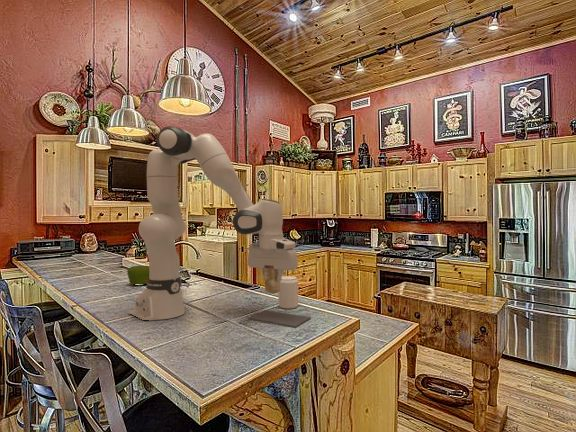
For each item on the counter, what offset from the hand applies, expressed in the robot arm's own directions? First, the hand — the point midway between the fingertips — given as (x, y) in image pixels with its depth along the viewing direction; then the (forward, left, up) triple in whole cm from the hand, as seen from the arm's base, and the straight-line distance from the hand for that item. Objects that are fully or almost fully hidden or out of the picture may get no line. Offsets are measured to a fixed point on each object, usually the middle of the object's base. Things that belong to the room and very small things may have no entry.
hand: (272, 280), depth 124 cm
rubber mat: (+3, 0, -14) cm, 14 cm away
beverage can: (-3, +15, -14) cm, 21 cm away
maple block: (0, 0, -4) cm, 4 cm away
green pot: (-98, +15, -14) cm, 100 cm away
